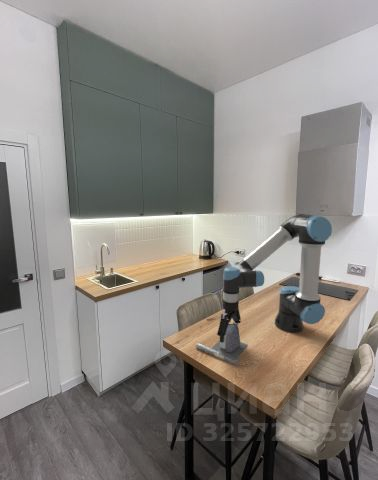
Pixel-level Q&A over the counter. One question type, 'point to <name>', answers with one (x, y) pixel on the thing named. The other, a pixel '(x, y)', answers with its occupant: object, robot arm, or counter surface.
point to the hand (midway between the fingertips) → (229, 340)
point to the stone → (232, 338)
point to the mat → (233, 354)
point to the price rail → (217, 354)
